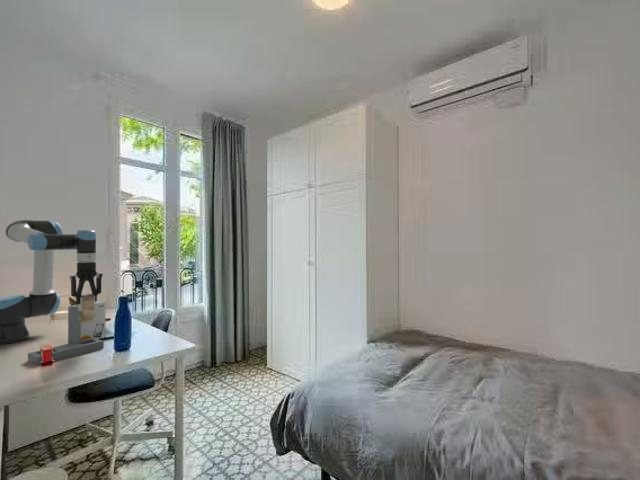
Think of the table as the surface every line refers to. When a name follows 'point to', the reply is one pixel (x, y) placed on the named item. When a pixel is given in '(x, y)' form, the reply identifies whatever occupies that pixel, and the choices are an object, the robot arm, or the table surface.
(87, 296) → the plug
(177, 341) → the table surface
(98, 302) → the hard drive box
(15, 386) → the table surface
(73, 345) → the socket strip
